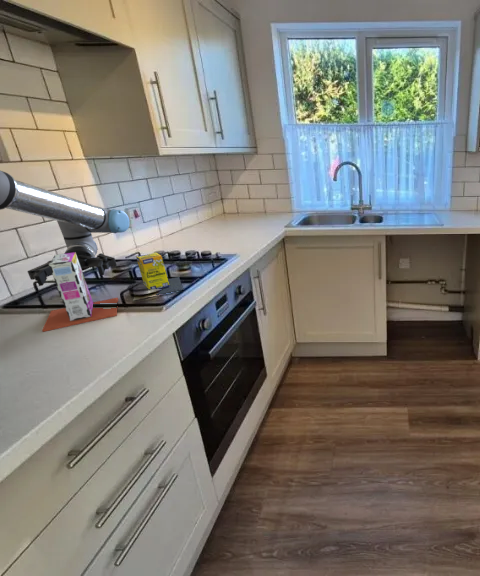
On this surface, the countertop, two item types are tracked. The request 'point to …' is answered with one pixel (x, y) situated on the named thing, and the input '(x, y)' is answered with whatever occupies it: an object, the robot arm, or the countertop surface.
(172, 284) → the slate mat
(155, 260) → the supplement box
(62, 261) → the candy bar box
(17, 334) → the countertop surface
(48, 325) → the terracotta mat
